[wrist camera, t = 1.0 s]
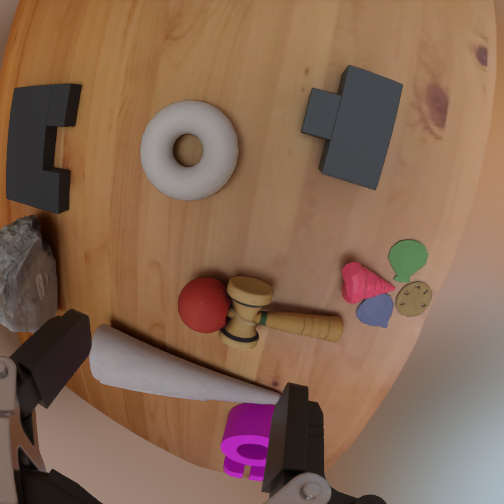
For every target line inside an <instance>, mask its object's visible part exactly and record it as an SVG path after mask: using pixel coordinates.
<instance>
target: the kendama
mask: <svg viewBox="0 0 504 504" xmlns="http://www.w3.org/2000/svg"><path fill="white" fill-rule="evenodd" d="M273 293H274V290H273V288H272V287H271V286H270V285H268V284H267V283H265V282H263V281H260V280H258V279H255V278H251V277H244V276H237V277H233V278H231V279H230V280H229V283H228V287H226V286H225V285H224V284H223V283H221V282H220V281H218V280H216V279H213V278H208V277H202V278H197V279H194V280H192V281H190V282H189V283H188V284H187V285H186V286H185V287H184V288H183V289H182V291H181V293H180V295H179V299H178V311H179V315H180V317H181V319H182V321H183V322H184V323H185V324H186V325H187V326H188V327H189V328H191V329H192V330H194V331H197V332H200V333H212V332H215V331H218V330H219V338H220V339H221V341H222V342H223V343H224V344H226V345H228V346H230V347H232V348H235V349H239V350H248V349H252V348H254V347H255V346H256V345H257V342H258V340H259V334H258V332H257V331H256V329H255V325H256V324H257V323H259V324H262V325H265V326H268V327H271V328H274V329H278V330H281V331H285V332H289V333H293V334H298V335H303V336H309V337H313V338H318V339H324V340H327V341H331V342H338V341H339V339H340V338H341V336H342V332H343V320H342V318H341V317H338V316H322V315H320V316H319V315H310V314H301V313H291V312H272V311H259V310H260V309H261V308H262V307H263V306H265V305H268V304H270V303H271V301H272V297H273Z"/></svg>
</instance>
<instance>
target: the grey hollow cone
mask: <svg viewBox="0 0 504 504" xmlns="http://www.w3.org/2000/svg"><path fill="white" fill-rule="evenodd" d="M90 368H91V372H92V374H93V376H94V378H95V379H97V380H100V382H101V383H102V384H106V385H110V386H115V387H119V388H124V389H129V390H134V391H139V392H145V393H151V394H157V395H163V396H170V397H177V398H184V399H192V400H201V401H208V399H209V400H219V401H229V402H243V403H257V404H275V403H277V402H278V400H279V398H280V396H281V395H280V394H279V393H277V392H274V391H271V390H268V389H265V388H262V387H259V386H256V385H253V384H250V383H247V382H244V381H241V380H238V379H235V378H232V377H229V376H226V375H224V374H221V373H218V372H215V371H213V370H210V369H207V368H204V367H202V366H199V365H197V364H194V363H191V362H189V361H186V360H184V359H181V358H179V357H177V356H174V355H172V354H169V353H167V352H165V351H162V350H160V349H158V348H156V347H153V346H151V345H149V344H146V343H144V342H142V341H140V340H138V339H135V338H133V337H131V336H129V335H127V334H125V333H123V332H121V331H119V330H117V329H115V328H113V327H111V326H109V325H107V324H101V325H100V326H99V327H98V328H97V330H96V331H95V333H94V336H93V339H92V347H91V351H90Z"/></svg>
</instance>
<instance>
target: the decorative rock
mask: <svg viewBox="0 0 504 504" xmlns="http://www.w3.org/2000/svg"><path fill="white" fill-rule="evenodd" d="M57 292H58V285H57V274H56V260H55V258H54V257H53V253H52V250H51V247H50V245H49V244H47V243H46V242H45V241H43V239H42V237H41V233H40V225H39V220H38V218H37V217H35V216H34V215H30V216H29V217H23V218H20V219H17V220H16V221H15V222H13V223H11V224H10V225H6V226H4V227H3V228H2V229H1V231H0V323H1V324H2V325H4V326H6V327H8V328H9V329H10V330H11V331H15V332H31V333H34V332H36V331H37V330H38V329H40V327H41V326H42V325H43V324H44V323H45V322H46V321H47V320H49V319H52V318H54V317H55V315H56V313H57V308H58V305H57Z"/></svg>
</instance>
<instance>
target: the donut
mask: <svg viewBox="0 0 504 504" xmlns="http://www.w3.org/2000/svg"><path fill="white" fill-rule="evenodd" d="M183 134H193V135H195V136H197V137H198V138H199V139H200V141H201V143H202V145H203V155H202V158H201V160H200V162H199V163H198V164H196V165H194V166H192V167H183V166H182V165H180V164H179V163H178V162H177V161H176V160H175V158H174V156H173V145H174V143H175V141H176V139H177V138H178V137H179V136H181V135H183ZM238 153H239V148H238V140H237V134H236V132H235V130H234V128H233V126H232V124H231V122H230V120H229V119H228V118H227V117H226V116H225V115H224V114H223V113H222V112H221V111H220V110H219V109H218V108H216V107H214V106H212V105H210V104H208V103H206V102H202V101H194V100H186V101H181V102H177V103H172V104H170V105H169V106H167V107H165V108H164V109H162V110H160V111H159V112H158V113H157V114H156V115H155V116H154V117H153V118H152V119H151V121H150V122H149V123H148V125H147V127H146V129H145V132H144V134H143V136H142V141H141V148H140V156H141V163H142V167H143V169H144V171H145V174H146V176H147V178H148V180H149V181H150V182H151V183H152V184H153V185H154V186H155V187H156V189H157V190H158V191H160V192H162V193H163V194H165V195H167V196H168V197H170V198H174V199H178V200H183V201H190V200H199V199H203V198H205V197H208V196H210V195H212V194H214V193H216V192H217V191H218V190H219V189H220V188H221V187H223V186H224V185H225V184H226V183H227V182H228V180H229V178H230V177H231V175H232V173H233V171H234V170H235V168H236V163H237V158H238Z"/></svg>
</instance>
